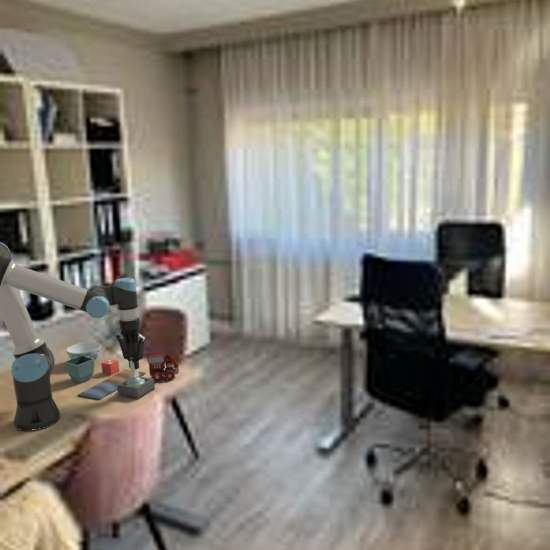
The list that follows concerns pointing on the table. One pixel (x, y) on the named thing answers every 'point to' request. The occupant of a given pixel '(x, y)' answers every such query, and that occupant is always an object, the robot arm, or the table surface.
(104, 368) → the die
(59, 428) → the table surface
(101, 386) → the board
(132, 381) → the dome cap
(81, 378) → the flower pot
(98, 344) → the chinaware
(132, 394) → the dome housing
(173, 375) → the toy fire truck
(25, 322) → the robot arm
